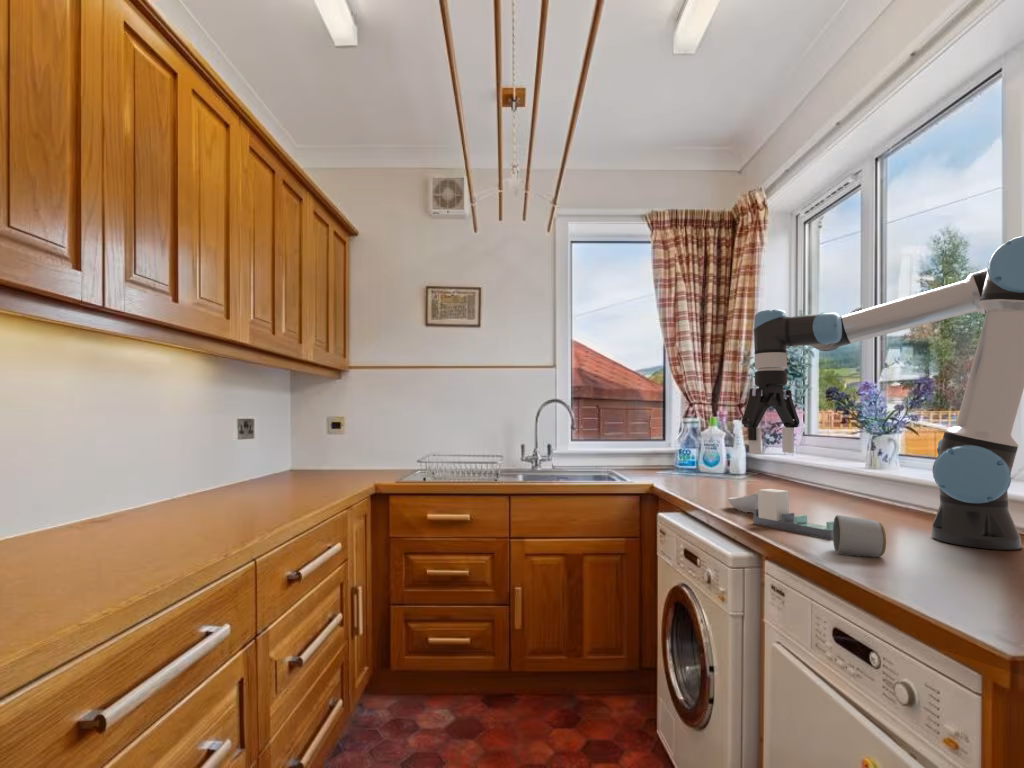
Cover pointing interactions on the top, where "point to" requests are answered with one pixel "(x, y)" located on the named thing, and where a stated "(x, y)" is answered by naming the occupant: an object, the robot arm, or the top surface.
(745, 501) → the spoon rest
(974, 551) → the top surface
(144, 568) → the top surface
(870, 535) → the grey cylinder
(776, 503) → the nylon block
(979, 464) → the robot arm
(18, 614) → the top surface
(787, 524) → the rail
